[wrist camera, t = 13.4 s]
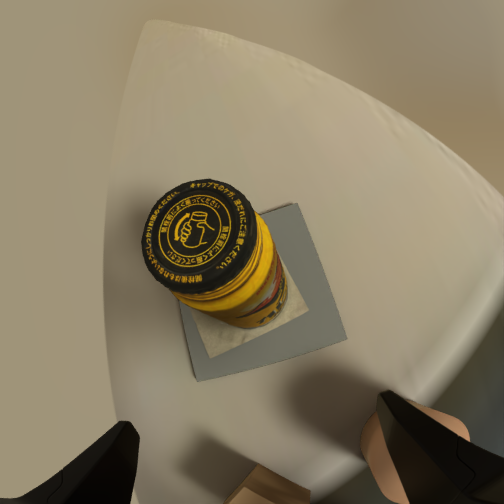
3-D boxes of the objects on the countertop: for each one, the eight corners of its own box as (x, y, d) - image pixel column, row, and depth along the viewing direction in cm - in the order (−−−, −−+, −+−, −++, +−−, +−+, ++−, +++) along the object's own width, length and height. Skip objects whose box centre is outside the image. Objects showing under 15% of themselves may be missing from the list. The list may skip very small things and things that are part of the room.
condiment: (309, 310, 21) (305, 259, 10) (210, 358, 22) (115, 353, 11) (267, 233, 24) (228, 133, 13) (178, 279, 24) (87, 217, 13)
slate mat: (346, 339, 21) (347, 338, 20) (199, 381, 22) (197, 381, 21) (297, 206, 25) (297, 202, 25) (172, 249, 26) (169, 247, 26)
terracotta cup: (443, 427, 16) (484, 446, 10) (390, 480, 15) (413, 517, 9) (400, 385, 18) (435, 394, 12) (344, 440, 18) (356, 473, 11)
